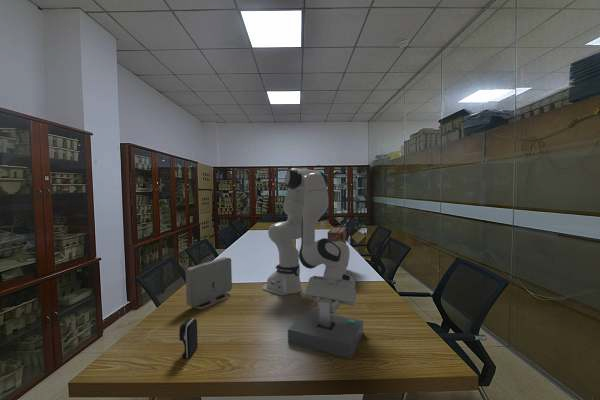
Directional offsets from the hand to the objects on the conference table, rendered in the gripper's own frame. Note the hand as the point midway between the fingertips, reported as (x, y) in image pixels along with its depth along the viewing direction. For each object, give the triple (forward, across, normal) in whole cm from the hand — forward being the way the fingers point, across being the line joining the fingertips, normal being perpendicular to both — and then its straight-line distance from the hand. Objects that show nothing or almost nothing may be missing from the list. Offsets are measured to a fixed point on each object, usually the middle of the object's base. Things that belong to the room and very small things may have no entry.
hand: (325, 311), depth 104 cm
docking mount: (+7, 0, +8) cm, 10 cm away
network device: (+2, -66, +14) cm, 67 cm away
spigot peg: (+5, 0, +6) cm, 8 cm away
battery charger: (+28, -41, -12) cm, 51 cm away
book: (-45, -19, +60) cm, 78 cm away
